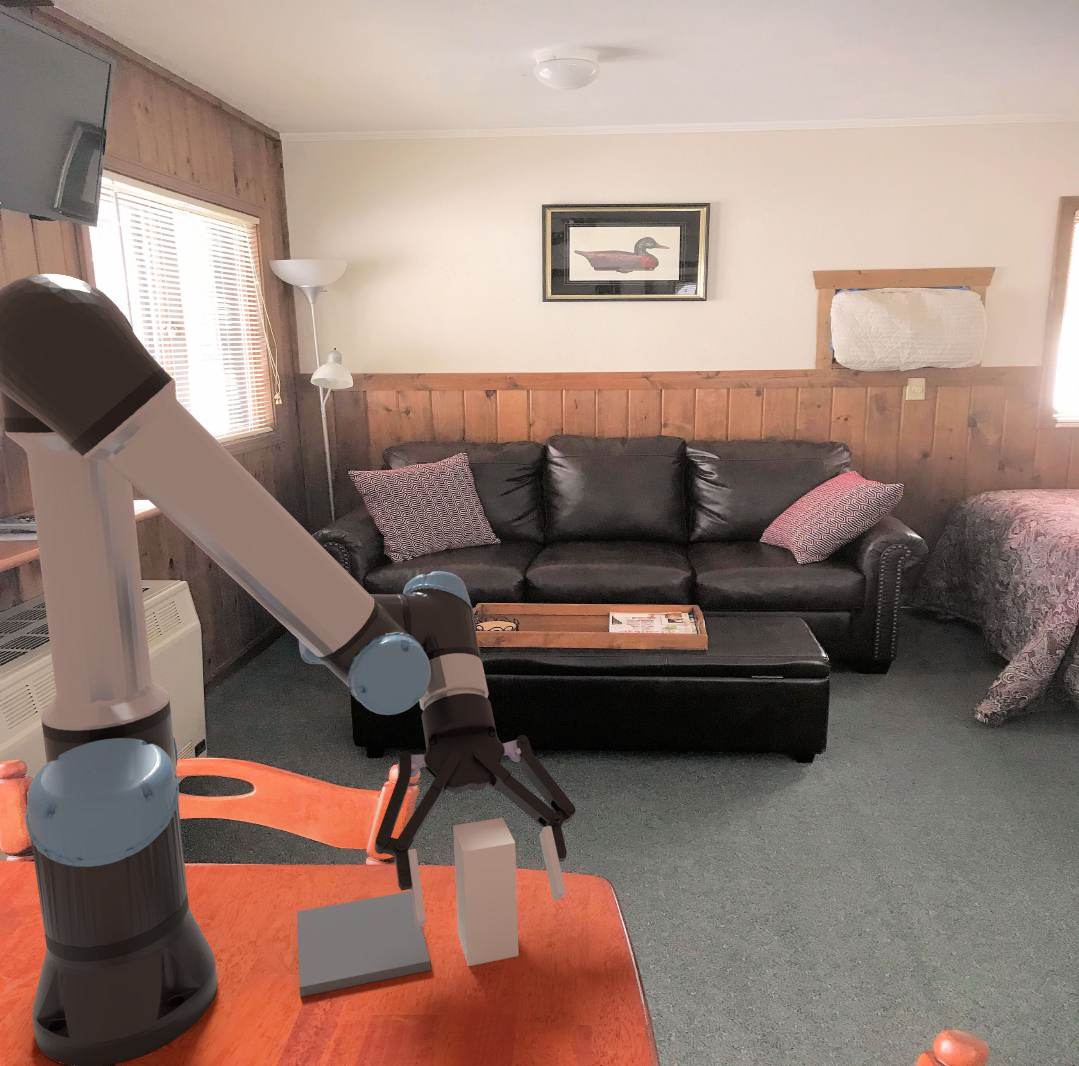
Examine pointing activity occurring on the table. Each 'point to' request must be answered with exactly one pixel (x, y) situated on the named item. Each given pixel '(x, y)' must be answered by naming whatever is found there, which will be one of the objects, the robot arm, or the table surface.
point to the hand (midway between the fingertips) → (491, 910)
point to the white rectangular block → (486, 891)
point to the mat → (359, 943)
